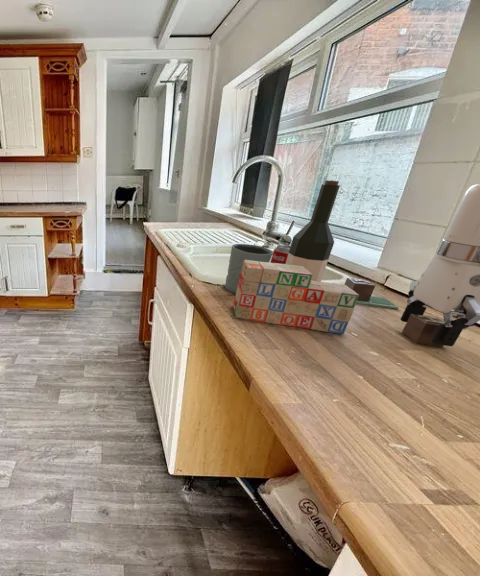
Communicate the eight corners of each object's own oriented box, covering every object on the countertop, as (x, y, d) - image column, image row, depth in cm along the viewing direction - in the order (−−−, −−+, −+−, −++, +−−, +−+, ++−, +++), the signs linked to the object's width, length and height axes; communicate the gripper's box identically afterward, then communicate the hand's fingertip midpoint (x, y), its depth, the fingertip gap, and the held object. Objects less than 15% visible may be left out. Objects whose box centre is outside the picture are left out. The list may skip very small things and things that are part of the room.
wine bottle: (311, 300, 81) (352, 181, 70) (312, 311, 75) (358, 182, 63) (276, 293, 85) (309, 179, 74) (274, 302, 79) (310, 179, 67)
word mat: (382, 298, 85) (383, 296, 85) (398, 309, 79) (399, 307, 79) (337, 292, 88) (338, 291, 88) (349, 302, 82) (349, 300, 81)
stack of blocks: (332, 322, 70) (351, 271, 65) (343, 335, 64) (366, 281, 60) (232, 306, 75) (243, 258, 71) (234, 317, 70) (247, 266, 65)
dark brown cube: (360, 295, 85) (366, 279, 84) (368, 301, 81) (375, 284, 79) (341, 292, 86) (347, 276, 85) (348, 298, 82) (355, 282, 81)
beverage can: (269, 282, 93) (279, 244, 89) (289, 288, 89) (302, 248, 85) (260, 286, 90) (271, 246, 85) (281, 292, 86) (293, 251, 81)
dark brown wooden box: (427, 336, 66) (437, 316, 64) (443, 347, 62) (454, 326, 60) (401, 332, 67) (411, 312, 65) (415, 343, 63) (426, 322, 61)
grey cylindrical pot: (229, 280, 93) (238, 242, 88) (265, 289, 87) (276, 249, 83) (217, 289, 86) (226, 247, 81) (256, 300, 80) (268, 255, 75)
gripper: (540, 269, 49) (482, 359, 55) (454, 245, 64) (417, 317, 71) (481, 263, 50) (432, 351, 57) (411, 241, 66) (379, 312, 72)
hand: (424, 332), depth 64 cm, fingers open, 9 cm apart
